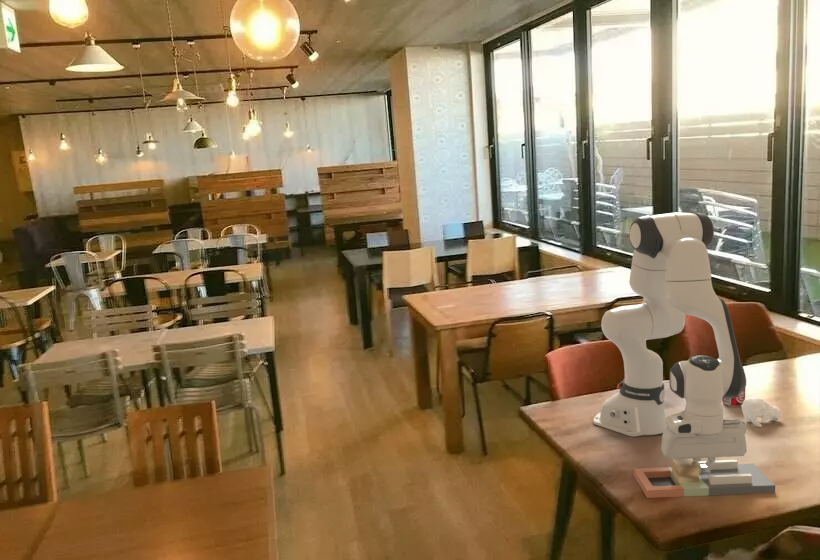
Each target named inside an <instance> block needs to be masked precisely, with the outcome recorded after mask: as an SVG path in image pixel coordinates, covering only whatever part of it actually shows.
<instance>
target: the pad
mask: <svg viewBox="0 0 820 560" xmlns="http://www.w3.org/2000/svg"><path fill="white" fill-rule="evenodd" d="M667 467H668V468H669V469H670V477H671V478H672V480H673V481H674V483H675V484H676V485H682V487H683V488H684V497H700V496H701V497H704V496H705V497H707V496H710V495H709V487H708V486H707V485H706V484H705V483H704V481H703V480H702V479H701V478H700V477H699V482H688V483H678V481H677V480H676V479H675V477H674V476H673V475H672V466H667Z"/></svg>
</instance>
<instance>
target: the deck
mask: <svg viewBox="0 0 820 560" xmlns="http://www.w3.org/2000/svg"><path fill="white" fill-rule="evenodd" d="M668 467H669V466H665V467H643V468H641V467H639V468H633V469H632V470H633V474H632V475H633V477H634V480H636V482H637V484H638V486H639V487H640V489H641V491H642V492H643V493H644V496H645V497H646V498H647V499H653V498H654V499H655V498H657V499H658V498H676V497H677V498H681V497H685V496H684V488H683V487H682V485H676V484H675V483H674V481H673V480H672V478H671V477H670V469H669V468H668ZM734 474H751V475H752V483H744V484H720V485H710V484H709V476H710V475H734ZM699 477H700V478H701V479H702V480H703V481H704V483H705V484H706V485H707V486H708V487H709V495H708V496H729V495H731V496H732V495H752V494H776V484H774V482H773V481H772V480H770V479H769V478H768V476H766V475H765V473H763V472H762V470H760V469H759V468H758V466H757V465H755V463H738V469H718V470H710V473H701V474H699Z"/></svg>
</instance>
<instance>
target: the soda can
mask: <svg viewBox="0 0 820 560" xmlns="http://www.w3.org/2000/svg"><path fill="white" fill-rule="evenodd" d="M745 399H746V388H745V389H744V390H743V391H742V392H741V393H740V394H739V395H738V396H737V397H735V398H722V404H724V405H725V406H727V407H731V408H740V407H741V406H742V404H743V402H744V400H745Z"/></svg>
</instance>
